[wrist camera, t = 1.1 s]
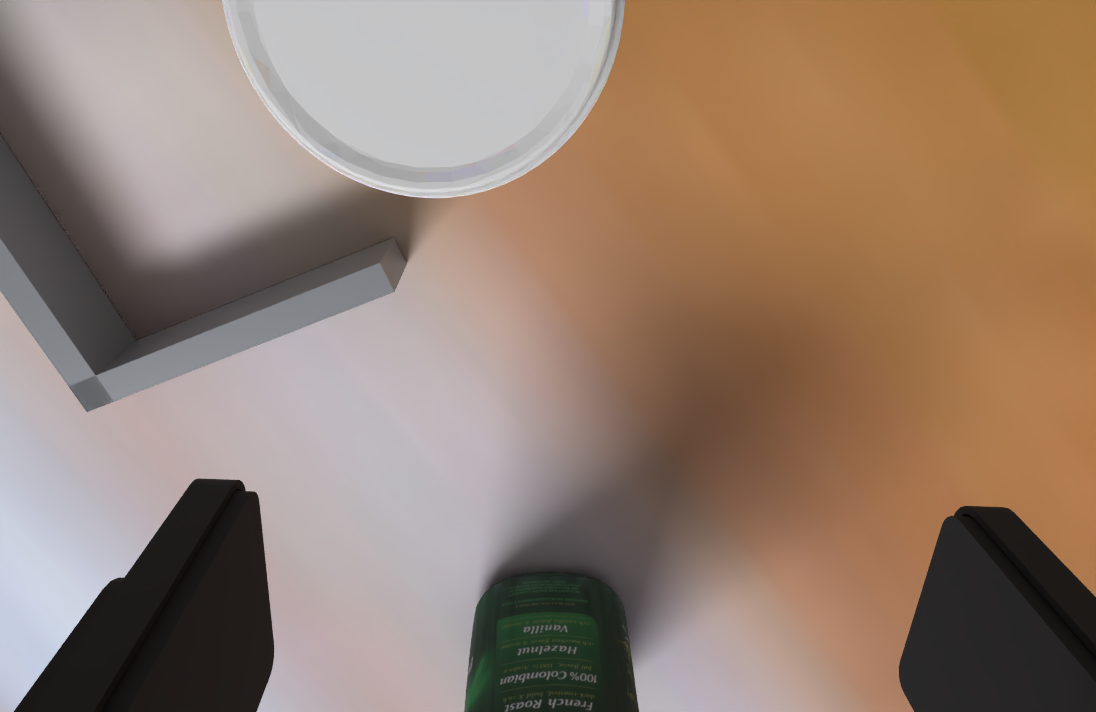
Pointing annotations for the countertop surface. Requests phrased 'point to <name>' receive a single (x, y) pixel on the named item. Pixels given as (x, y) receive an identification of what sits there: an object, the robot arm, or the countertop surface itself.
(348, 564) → the countertop surface
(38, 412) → the countertop surface
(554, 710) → the coffee jar
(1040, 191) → the countertop surface
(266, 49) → the coffee cup
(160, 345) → the tray
